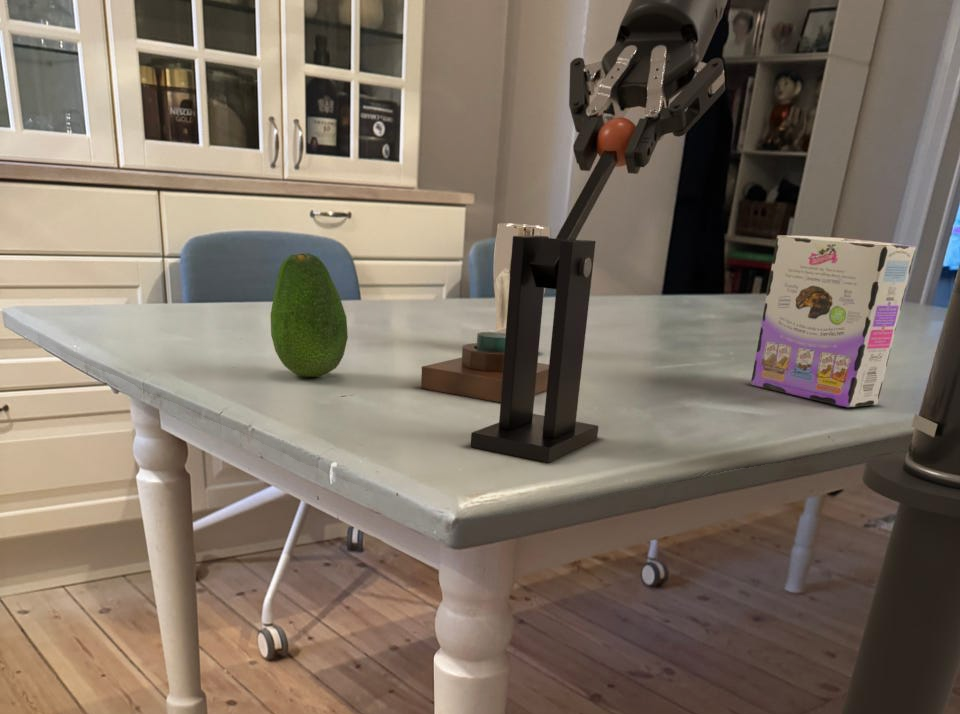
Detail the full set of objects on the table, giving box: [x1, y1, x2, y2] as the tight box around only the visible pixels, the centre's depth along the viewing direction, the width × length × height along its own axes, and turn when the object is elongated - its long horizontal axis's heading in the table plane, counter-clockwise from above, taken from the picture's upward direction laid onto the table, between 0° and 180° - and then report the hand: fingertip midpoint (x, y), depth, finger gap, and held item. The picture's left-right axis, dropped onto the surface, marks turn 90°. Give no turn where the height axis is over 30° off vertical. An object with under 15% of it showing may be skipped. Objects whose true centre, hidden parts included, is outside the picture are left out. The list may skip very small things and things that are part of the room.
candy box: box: [750, 234, 917, 408], centre depth 102 cm, size 14×6×16 cm, turn 35°
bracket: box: [470, 235, 600, 464], centre depth 74 cm, size 10×7×16 cm
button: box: [476, 331, 506, 352], centre depth 96 cm, size 4×4×2 cm
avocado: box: [270, 252, 349, 379], centre depth 94 cm, size 8×8×12 cm
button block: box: [420, 342, 549, 404], centre depth 97 cm, size 10×12×4 cm
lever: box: [530, 117, 637, 290], centre depth 74 cm, size 17×4×4 cm
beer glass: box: [492, 222, 552, 334], centre depth 117 cm, size 7×7×15 cm
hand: (606, 163), depth 75 cm, fingers closed on lever, 3 cm apart
